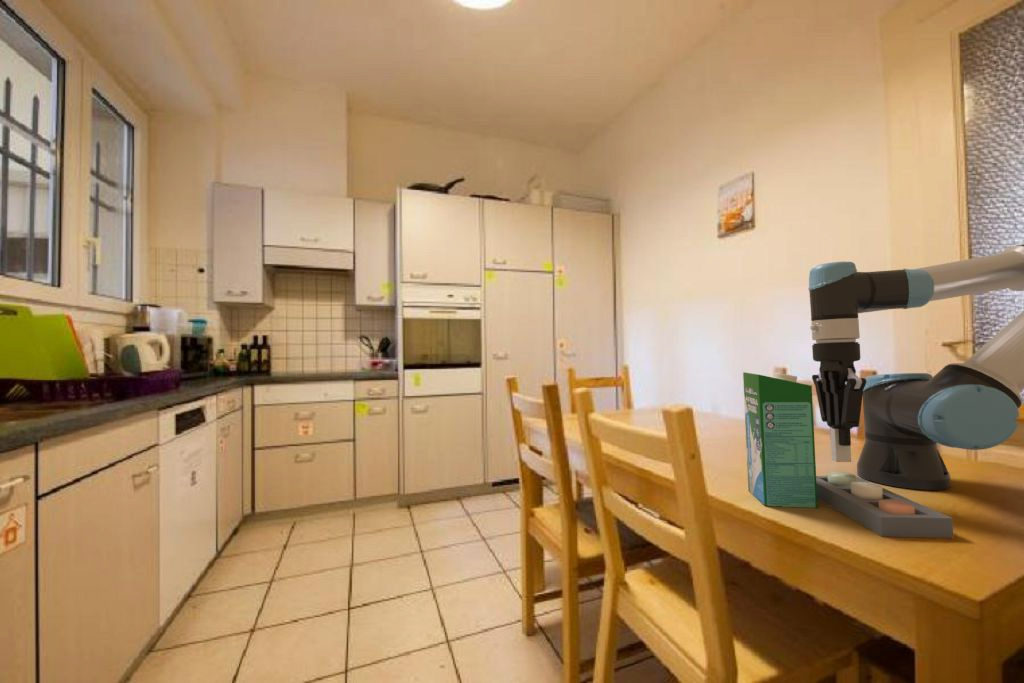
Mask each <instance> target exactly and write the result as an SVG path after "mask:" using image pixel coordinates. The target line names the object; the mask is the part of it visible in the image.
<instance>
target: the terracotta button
mask: <svg viewBox="0 0 1024 683" xmlns="http://www.w3.org/2000/svg"><path fill="white" fill-rule="evenodd" d="M879 509H881V510H883V511H885V512H887V513H889V514H909V515H915V507H914V506H913V505H911V504H909V503H905V502H901V501H896V500H879Z"/></svg>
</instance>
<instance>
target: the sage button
mask: <svg viewBox="0 0 1024 683" xmlns="http://www.w3.org/2000/svg"><path fill="white" fill-rule="evenodd" d="M827 476H828V483H830V484H832V485H834V486H851V483H852V482H856V474H854V473H851V472H846V471H839V470H836V471H835V470H831V471H828V472H827Z"/></svg>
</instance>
